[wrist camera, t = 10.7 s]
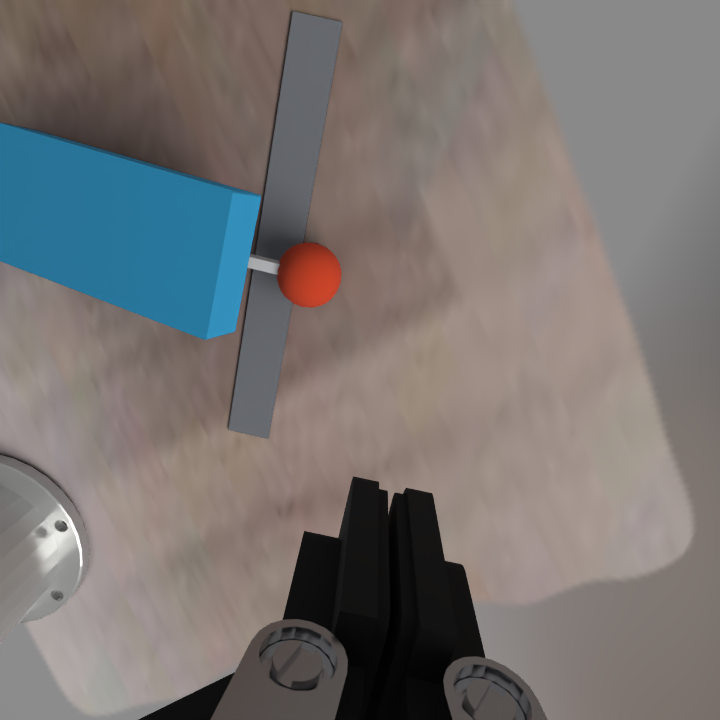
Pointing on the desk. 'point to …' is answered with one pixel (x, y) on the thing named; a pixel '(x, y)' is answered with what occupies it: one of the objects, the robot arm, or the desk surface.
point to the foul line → (284, 214)
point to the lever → (142, 234)
